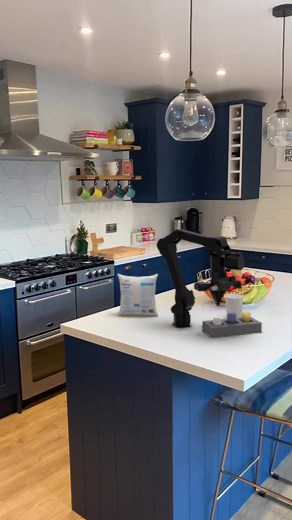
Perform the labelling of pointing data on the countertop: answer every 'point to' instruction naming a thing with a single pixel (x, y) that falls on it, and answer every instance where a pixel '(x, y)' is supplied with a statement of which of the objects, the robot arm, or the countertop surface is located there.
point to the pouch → (137, 294)
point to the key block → (231, 327)
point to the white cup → (234, 304)
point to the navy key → (231, 318)
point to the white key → (217, 321)
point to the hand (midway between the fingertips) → (217, 305)
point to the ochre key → (246, 317)
